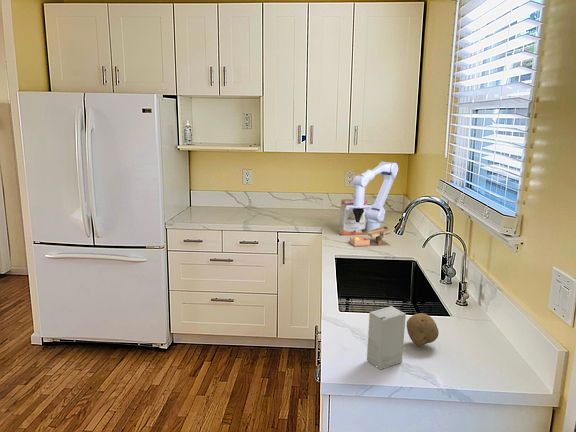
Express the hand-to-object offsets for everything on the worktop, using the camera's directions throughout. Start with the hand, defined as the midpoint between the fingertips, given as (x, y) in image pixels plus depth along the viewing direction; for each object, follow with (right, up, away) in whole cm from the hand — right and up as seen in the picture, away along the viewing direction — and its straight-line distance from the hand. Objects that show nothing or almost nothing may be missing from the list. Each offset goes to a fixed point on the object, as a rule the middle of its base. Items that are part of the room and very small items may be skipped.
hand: (357, 222), depth 258 cm
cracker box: (-1, -8, +14) cm, 16 cm away
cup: (0, -12, -10) cm, 15 cm away
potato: (+1, -35, -119) cm, 124 cm away
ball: (-2, -9, -11) cm, 15 cm away
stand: (+5, -13, -9) cm, 16 cm away
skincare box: (-12, -37, -129) cm, 135 cm away
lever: (+9, -6, -5) cm, 12 cm away
